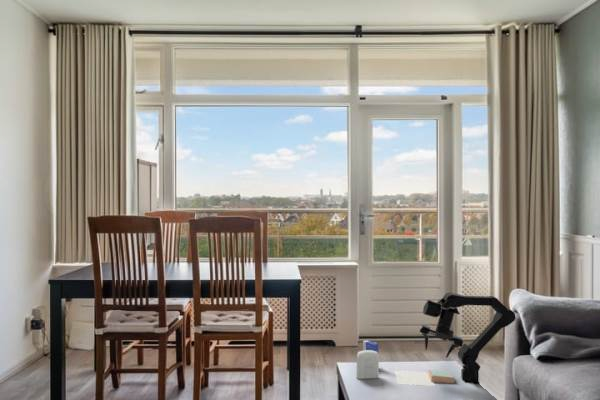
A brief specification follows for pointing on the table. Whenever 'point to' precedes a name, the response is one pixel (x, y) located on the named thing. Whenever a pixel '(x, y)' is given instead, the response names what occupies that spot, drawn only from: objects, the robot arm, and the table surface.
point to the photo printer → (367, 364)
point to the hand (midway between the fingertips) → (436, 353)
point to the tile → (441, 376)
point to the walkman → (370, 346)
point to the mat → (413, 378)
